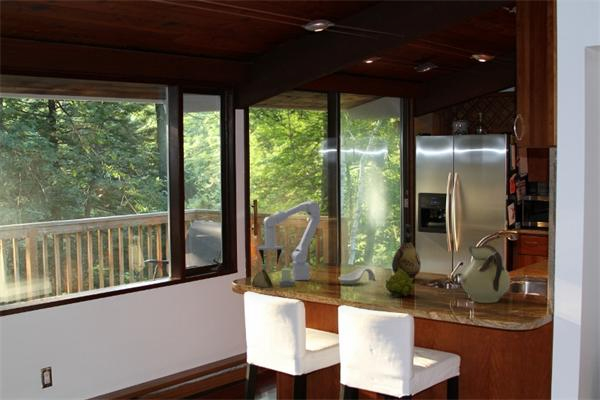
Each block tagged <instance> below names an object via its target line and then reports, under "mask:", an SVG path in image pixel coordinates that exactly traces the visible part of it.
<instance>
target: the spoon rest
mask: <svg viewBox="0 0 600 400" xmlns="http://www.w3.org/2000/svg"><path fill="white" fill-rule="evenodd" d="M365 272H367V274H368V276H367V277H368V280H372V281H375V280H376V276H375V273H374V272H373V270H371V269H369V268H365V267H361V268H359V269H356V270H354V271H352V272H349V273H347V274H344V275H340V276H338V278H337V279H338V280H339V281H340V283H341V284H343V285H347V286H353V285H356V284H357V283H358V282H360V280H361V278H362V276H363V274H364V273H365Z"/></svg>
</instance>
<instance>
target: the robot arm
mask: <svg viewBox="0 0 600 400" xmlns="http://www.w3.org/2000/svg"><path fill="white" fill-rule="evenodd" d="M300 212H305V213H306V214H307V215H308V216H309V222H308V223H307V225H306V228H305V230H304V233H303V235H302V237H301V238H300V239H301V240H300V242H299V244H298V245H297V246H296V248H295V249H294V251H293V252H292V253H291V260H292V277H291V279H294V281H307V280H308V281H310V279H311V273H310V263H309V262H307V259H308V253H309V251H308V249H309V246H310V245H311V243H312V242H311V241H312V239H313V238H314V235H315V232H316V231H317V229H318V225H319V224H320V221H321V207H320V205H319V203H318V202H316V201H311V200H306V201H305V202H302V203H299V204H297V205H295V206H293V207H291V208H289V209H287V210H283V209H282V210H278V211H277V212H276V213H274V214H270V216H266V217H264V219H263V221H262V223H263V224H262V225H264V246H263V245H262V246H256V251H258V254H259V255H260V257H261V260H262V261H261V262H262V264H263V265H264V264H265V260H264V259H265V258H264V257H265V256H264V254H265V253H264V251H276V264H279V260H280V257H281V254H282V251H284V246H283V245H276V225H279V224H280V223H284V222H285V221H287V220H288V218H289V217H291V216H293V215H295V214H297V213H300Z"/></svg>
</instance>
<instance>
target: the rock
mask: <svg viewBox="0 0 600 400" xmlns="http://www.w3.org/2000/svg"><path fill="white" fill-rule="evenodd" d="M251 286H253V287H259V288H272V287H274V285H273V281H272V280H271V278H270V276H269V274H268V272H267V271H266V269H265V268H261V269H260V270H259V271H258V272H257V273H256V274H255V276H254V277H253V279H252V281H251Z"/></svg>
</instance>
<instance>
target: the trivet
mask: <svg viewBox="0 0 600 400" xmlns="http://www.w3.org/2000/svg"><path fill="white" fill-rule="evenodd" d="M295 282H296V280H294V279H292V278H291V281H282V278H280V279H278V287H280V288H281V287H283V288H284V287H285V288H286V287H289V288H290V287H295V286H296V285H295Z"/></svg>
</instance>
